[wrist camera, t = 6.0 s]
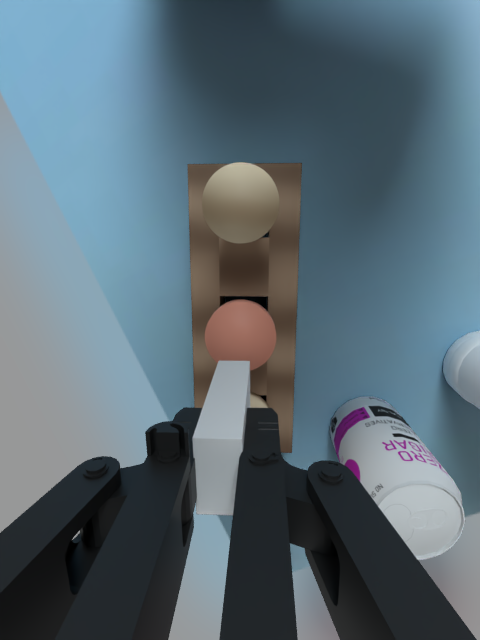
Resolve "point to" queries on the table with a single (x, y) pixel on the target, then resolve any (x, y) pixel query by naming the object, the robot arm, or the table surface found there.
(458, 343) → the bottle
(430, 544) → the supplement can
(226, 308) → the brick-red plug
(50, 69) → the table surface
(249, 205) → the maple plug
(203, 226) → the socket board
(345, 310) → the table surface
